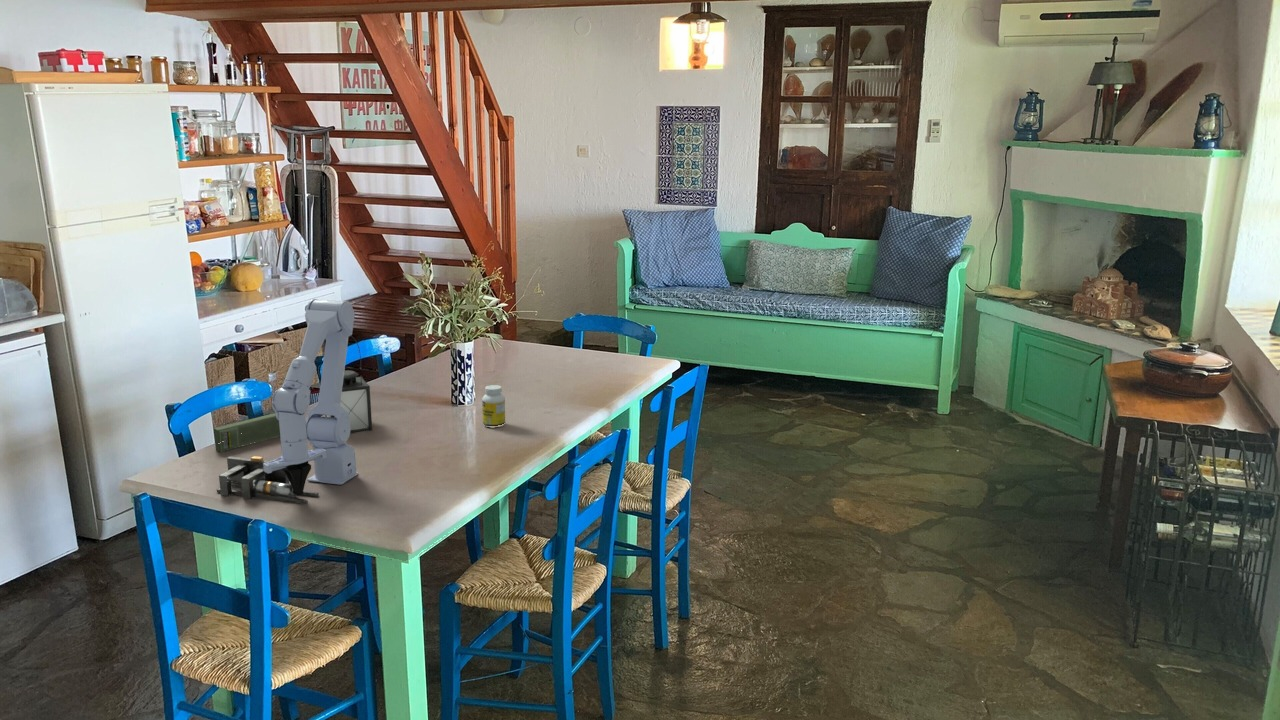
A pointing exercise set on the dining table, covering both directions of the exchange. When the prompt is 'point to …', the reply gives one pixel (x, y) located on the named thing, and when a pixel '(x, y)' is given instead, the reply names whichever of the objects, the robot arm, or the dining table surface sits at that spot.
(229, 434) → the handheld radio
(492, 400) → the pill bottle
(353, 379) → the lantern
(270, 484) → the tube
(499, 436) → the dining table surface
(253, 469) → the collar fixture
